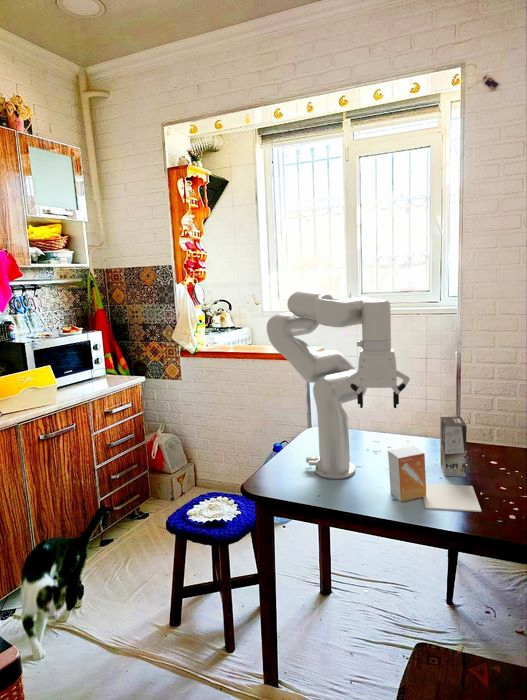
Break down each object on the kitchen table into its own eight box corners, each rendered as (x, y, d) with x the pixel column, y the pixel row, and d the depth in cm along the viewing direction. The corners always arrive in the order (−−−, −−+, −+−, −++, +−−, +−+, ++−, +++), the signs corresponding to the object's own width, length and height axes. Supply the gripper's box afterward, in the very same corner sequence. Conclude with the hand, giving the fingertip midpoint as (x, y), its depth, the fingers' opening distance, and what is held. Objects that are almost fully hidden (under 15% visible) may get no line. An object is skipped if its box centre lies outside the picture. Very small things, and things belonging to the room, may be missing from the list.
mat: (425, 508, 133) (425, 507, 133) (421, 484, 147) (421, 483, 146) (481, 512, 130) (481, 510, 130) (472, 487, 143) (472, 485, 143)
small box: (400, 502, 137) (398, 458, 135) (390, 492, 143) (387, 450, 141) (427, 496, 139) (425, 452, 136) (415, 487, 145) (413, 444, 142)
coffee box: (466, 477, 150) (467, 426, 146) (444, 476, 151) (444, 425, 148) (461, 464, 158) (461, 415, 155) (439, 463, 160) (439, 415, 157)
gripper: (343, 348, 133) (345, 410, 136) (411, 347, 129) (411, 411, 132) (345, 343, 140) (347, 402, 144) (409, 341, 136) (409, 402, 139)
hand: (378, 406), depth 138 cm, fingers open, 8 cm apart
